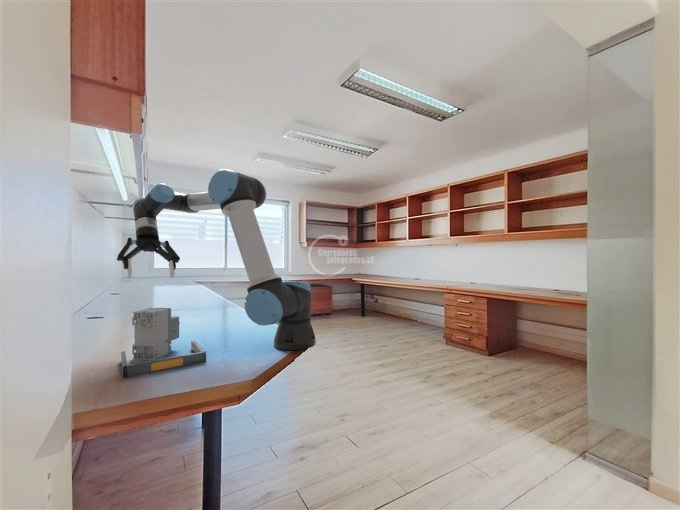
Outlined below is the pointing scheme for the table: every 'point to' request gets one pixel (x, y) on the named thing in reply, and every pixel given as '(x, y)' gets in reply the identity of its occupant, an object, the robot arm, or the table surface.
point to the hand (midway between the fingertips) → (152, 276)
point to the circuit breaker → (154, 333)
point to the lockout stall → (163, 362)
